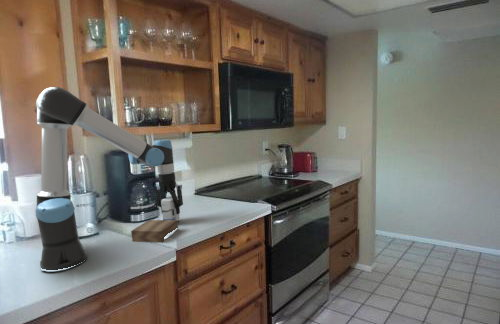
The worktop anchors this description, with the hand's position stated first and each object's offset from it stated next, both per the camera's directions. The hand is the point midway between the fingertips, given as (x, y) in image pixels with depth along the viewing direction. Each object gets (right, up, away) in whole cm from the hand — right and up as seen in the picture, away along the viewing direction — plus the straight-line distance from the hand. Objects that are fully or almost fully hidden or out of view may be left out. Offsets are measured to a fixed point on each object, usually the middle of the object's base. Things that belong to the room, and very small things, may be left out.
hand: (171, 220), depth 161 cm
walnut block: (-3, -4, -15) cm, 16 cm away
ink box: (0, -1, 0) cm, 1 cm away
